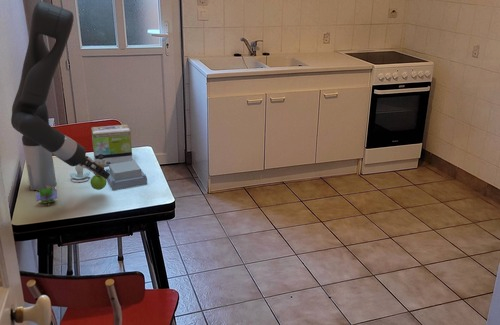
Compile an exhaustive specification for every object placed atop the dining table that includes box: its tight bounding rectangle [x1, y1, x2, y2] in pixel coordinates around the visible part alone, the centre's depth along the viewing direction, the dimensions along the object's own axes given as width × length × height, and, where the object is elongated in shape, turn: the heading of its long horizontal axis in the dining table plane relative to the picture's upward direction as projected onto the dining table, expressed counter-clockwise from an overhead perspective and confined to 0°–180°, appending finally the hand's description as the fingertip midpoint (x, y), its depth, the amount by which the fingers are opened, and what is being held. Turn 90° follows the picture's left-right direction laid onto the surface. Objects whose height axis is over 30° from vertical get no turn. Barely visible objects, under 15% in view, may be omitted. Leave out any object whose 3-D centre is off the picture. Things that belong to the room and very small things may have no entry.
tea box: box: [90, 124, 133, 167], centre depth 205 cm, size 15×10×15 cm
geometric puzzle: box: [35, 185, 58, 206], centre depth 168 cm, size 7×7×8 cm
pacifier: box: [69, 165, 91, 183], centre depth 188 cm, size 7×6×6 cm
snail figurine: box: [89, 160, 107, 191], centre depth 171 cm, size 5×6×12 cm
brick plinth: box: [104, 160, 148, 191], centre depth 187 cm, size 13×13×6 cm
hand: (103, 173), depth 172 cm, fingers closed on snail figurine, 5 cm apart
